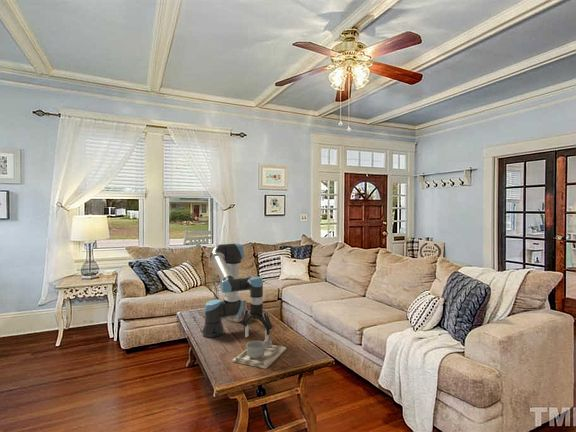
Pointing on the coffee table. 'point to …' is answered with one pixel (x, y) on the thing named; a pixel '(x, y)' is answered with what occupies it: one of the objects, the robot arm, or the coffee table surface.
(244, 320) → the robot arm
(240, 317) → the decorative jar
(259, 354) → the teacup
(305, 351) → the coffee table surface
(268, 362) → the carrier board
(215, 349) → the coffee table surface
